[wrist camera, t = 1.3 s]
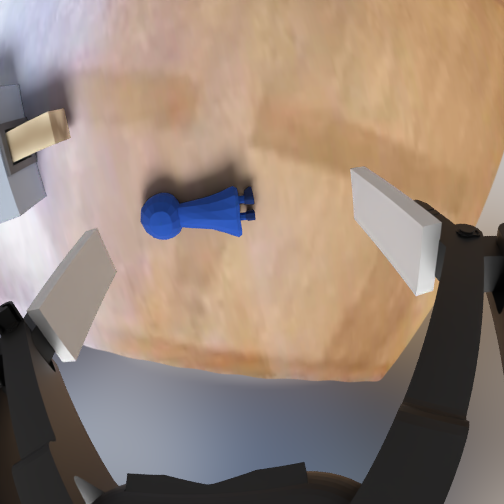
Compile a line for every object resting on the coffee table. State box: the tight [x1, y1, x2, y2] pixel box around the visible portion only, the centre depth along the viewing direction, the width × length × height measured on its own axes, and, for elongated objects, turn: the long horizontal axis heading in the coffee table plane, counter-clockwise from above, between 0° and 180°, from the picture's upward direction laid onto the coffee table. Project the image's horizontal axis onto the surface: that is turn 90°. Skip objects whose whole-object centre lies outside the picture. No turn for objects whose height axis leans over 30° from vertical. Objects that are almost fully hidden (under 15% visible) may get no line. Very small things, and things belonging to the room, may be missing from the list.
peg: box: [5, 108, 71, 162], centre depth 30 cm, size 4×16×4 cm, turn 99°
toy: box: [141, 186, 255, 240], centre depth 39 cm, size 7×6×15 cm
